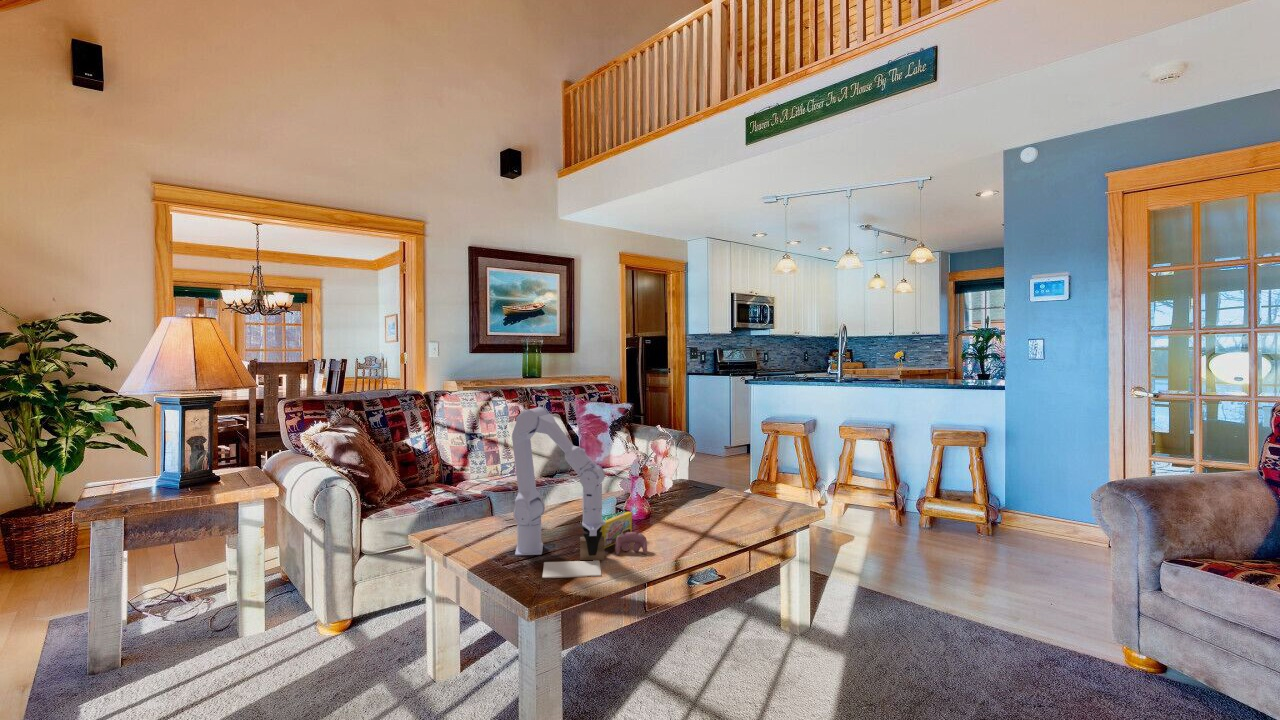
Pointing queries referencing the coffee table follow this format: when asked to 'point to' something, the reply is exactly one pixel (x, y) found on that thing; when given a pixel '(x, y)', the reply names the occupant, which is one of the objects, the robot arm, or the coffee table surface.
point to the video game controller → (630, 537)
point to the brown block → (584, 550)
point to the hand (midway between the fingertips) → (592, 552)
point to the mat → (571, 569)
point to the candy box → (616, 528)
